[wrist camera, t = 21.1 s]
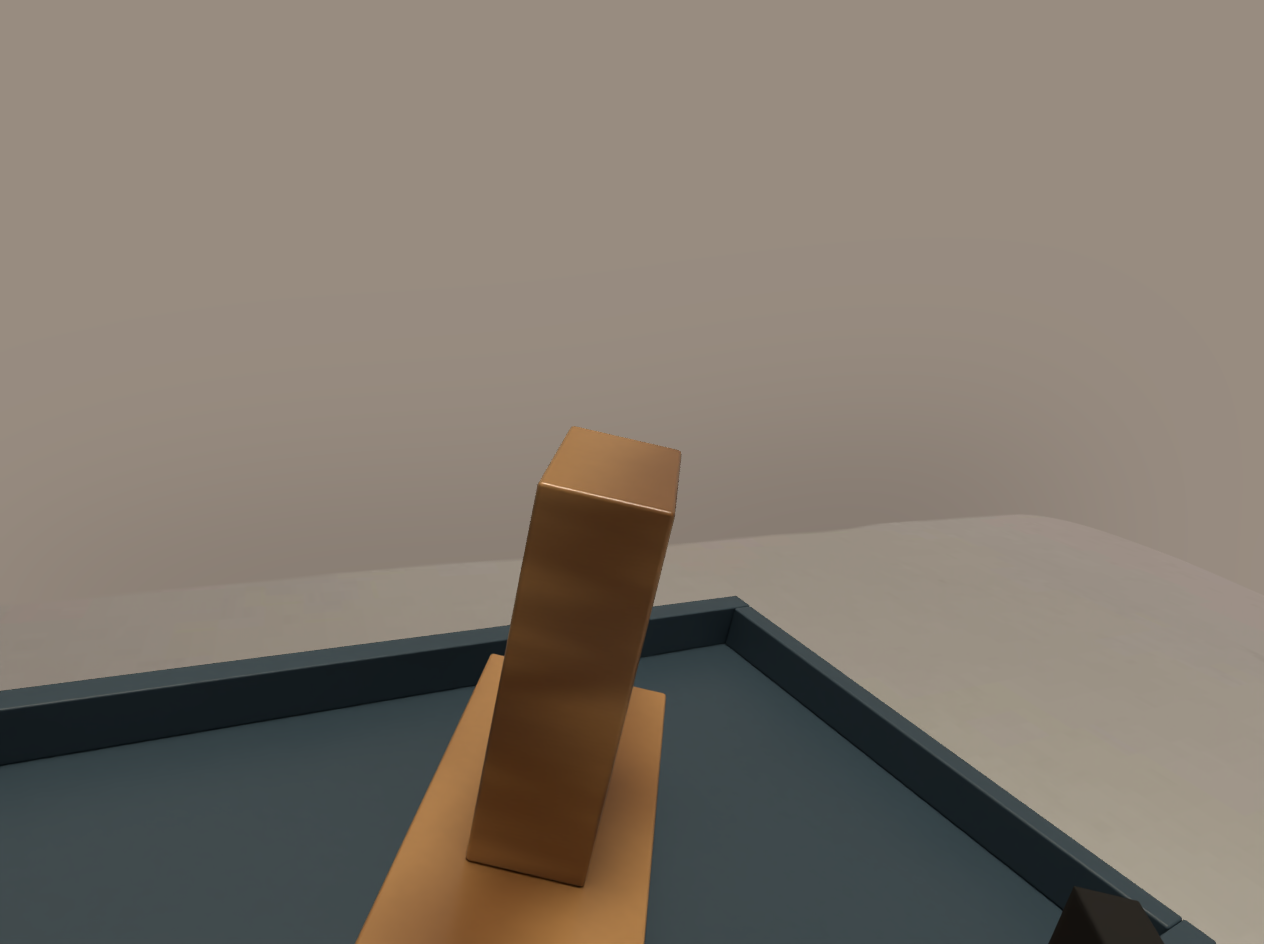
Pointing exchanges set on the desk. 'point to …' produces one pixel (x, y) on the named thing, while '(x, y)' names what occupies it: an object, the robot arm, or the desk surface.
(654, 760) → the wooden block on base
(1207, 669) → the desk surface
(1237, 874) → the desk surface
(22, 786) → the tray
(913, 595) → the desk surface
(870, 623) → the desk surface
